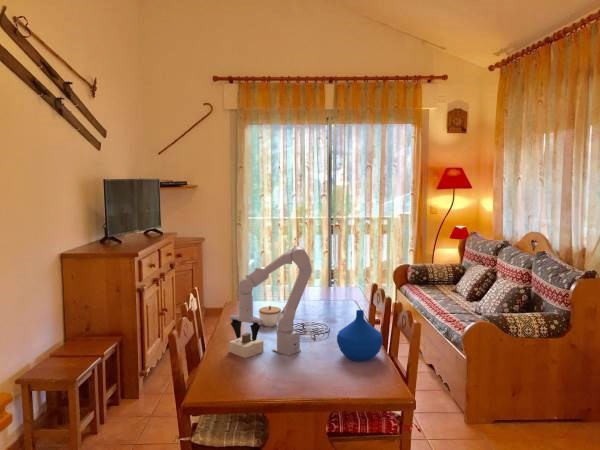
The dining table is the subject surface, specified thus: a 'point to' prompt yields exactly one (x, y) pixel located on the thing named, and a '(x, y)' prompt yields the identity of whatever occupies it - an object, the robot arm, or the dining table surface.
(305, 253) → the robot arm
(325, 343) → the dining table surface
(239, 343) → the cream square hole block
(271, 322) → the lidded jar
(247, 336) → the brown rectangular block
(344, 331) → the vase
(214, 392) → the dining table surface
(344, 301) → the dining table surface
